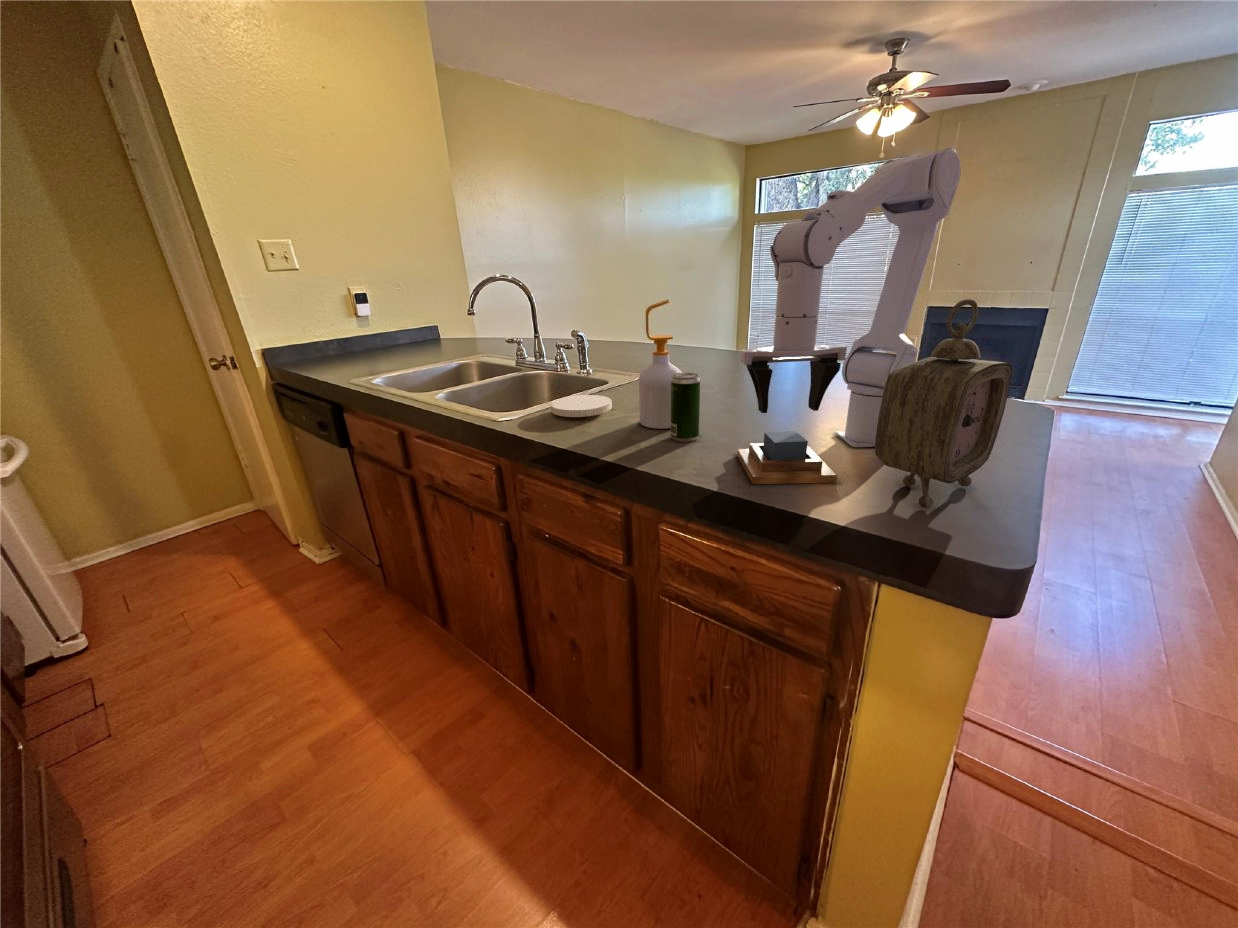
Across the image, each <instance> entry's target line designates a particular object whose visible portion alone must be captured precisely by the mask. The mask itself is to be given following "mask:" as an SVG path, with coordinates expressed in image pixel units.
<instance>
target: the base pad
mask: <svg viewBox="0 0 1238 928" xmlns="http://www.w3.org/2000/svg"><path fill="white" fill-rule="evenodd" d="M763 445H764V442H756V443H753V442H752V443H749V448H736V449H737V450H736V456H737V458H738V460H739V462H740V463H741V465H742V467H743V469H744V471H745V473H746V475H747V476H748V479H749V480H750V482H751V484H752V485H777V484H778V485H780V484H782V485H783V484H824V483H825V484H827V483H829V484H830V483H833V484H834V483H837V478H838V475H837V474H836V472H834V471H833V470H832V469H831V467H830V466H829V465H828V464H826V462H825V461H824V460H823V459H822V458H821V457H820V456H819V455H818V454H817V453H816V452H815V451H814V450H813V449H812V448H811V447H810V446H809V445H807V453H806V459H794V460H768V459H767V457H766V456H765V455H764V453H763Z"/></svg>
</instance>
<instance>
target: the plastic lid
mask: <svg viewBox="0 0 1238 928" xmlns="http://www.w3.org/2000/svg"><path fill="white" fill-rule="evenodd" d="M612 408H613V400H612V399H611V398H610V397H608V396H605V395H597V394H580V395H579V394H577V395H571V396H570V395H569V396H565V397H560V398H558V399H555V400H553V401H552V402H551V403H550V411H551V413H552V414H554V415H556V416H560V417H567V418H583V417H593V416H597V415H602V414H605V413H607V412H609V411H611V410H612Z"/></svg>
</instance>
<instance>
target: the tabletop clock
mask: <svg viewBox="0 0 1238 928" xmlns="http://www.w3.org/2000/svg"><path fill="white" fill-rule="evenodd" d="M964 306H970V307H971V309H972V318H971V322H970V323H969V324H968V325H966V323H962V322H960V323H958V324H956V326H955V329H954V328H953V327H952V325H953V324H952V323H953V319H954V317H955V316H956V313H957V312H958V311H959V310H960V309H961V308H962V307H964ZM978 315H979V305H978V303H977V302H976V300H975V299H972V298H965V299H962V300H960V301H958V302H957V303H956V304H955V305H954V306H953V307H952V309H951V311H950V312H949V315H948V316H947V321H946V331H947V333H948V334H949V335H950V336H951V337H953V338H946V339H943V340H942V341H941V342H939V343H938V344H937V345H936V346H935V347H934V349H933V350H932V352H931V353H930V355H929V357H925V358H923V359H919V360H917V361H915V362H914V363H911V364H908V365H906V366H903V367H900V368H898V369H896V370H894V371H893V372H892V373H891V374H890V375H889V376H888V378H887V381H886V384H885V388H884V391H883V396H882V401H881V406H880V411H879V417H878V424H877V431H876V439H875V447H874V454H875V456H876V458H877V459H878V460H879V461H880V462H881V463H882V464H883V465H884V466H886V467H889V468H893V469H895V470H899V471H903V472H906V473H910V474H907V475H905V476H904V477H903V478H902V483H903V485H904V486H906V487H912V486H914V485H916V483H917V478H916V477H915V476H916V475H917V477H918V478H919V480H920V482H921V488H922V490H921V491H922V495H921V496H920V497H919V498H918V501H917V502H918V505H919V506H920V507H921V508H923V509H930V508H931V507H932V506H933V505H934V500H933V497H931V496H930V495H929V490H930V481H931V480H934V481H937V482H940V483H944V484H948V485H949V484H953V483H955V482H957V483H958V485H959V486H961V487H968V486H971V484H972V483H973V479H972V477H971V476H970V475H972V474H973V473H975V472H976V471H978V470H979V469H981V468H982V467H983V466H984V465H985V463H986V462H987V461H988V460H989V459H990V456H991V454H992V451H993V449H994V446H995V442H996V440H997V437H998V435H999V431H1000V427H1001V423H1002V420H1003V417H1004V414H1005V409H1006V405H1007V400H1008V397H1009V392H1010V386H1011V381H1012V378H1013V377H1012V375H1013V365H1012V364H1011V363H1010V362H1004V361H995V360H986V359H985V360H984V359H980V358H981V353H980V348H979V346H978V345H977V344H976V342H975V341H973V340H971V339H968V338H965V335H966V334H968V333H970V332H971V330H973V328H974V327H975V324H976V322H977V319H978Z"/></svg>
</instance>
